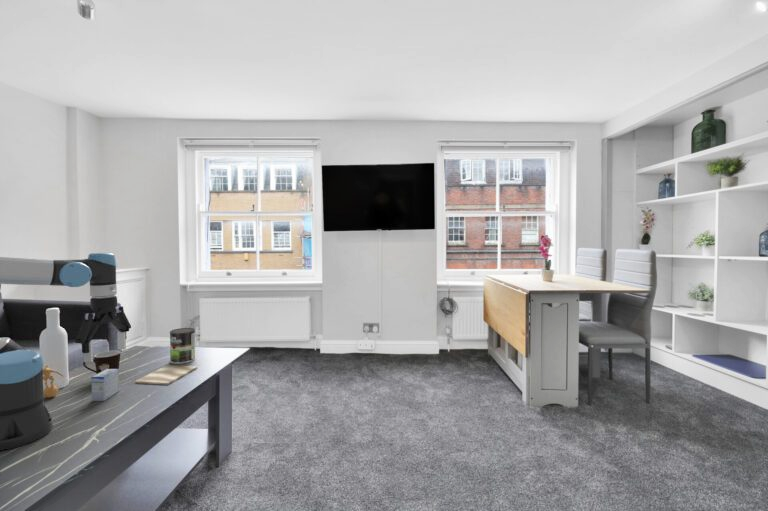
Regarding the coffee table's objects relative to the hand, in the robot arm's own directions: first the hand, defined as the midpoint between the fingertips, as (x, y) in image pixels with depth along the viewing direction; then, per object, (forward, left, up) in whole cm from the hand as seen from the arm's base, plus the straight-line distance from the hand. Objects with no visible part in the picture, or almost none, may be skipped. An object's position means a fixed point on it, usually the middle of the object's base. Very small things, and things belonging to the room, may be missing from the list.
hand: (106, 355), depth 128 cm
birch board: (+21, -8, -15) cm, 27 cm away
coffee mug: (+15, +15, -15) cm, 26 cm away
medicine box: (0, 0, -15) cm, 15 cm away
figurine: (-4, +18, -15) cm, 24 cm away
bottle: (+5, +26, -15) cm, 31 cm away
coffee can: (+39, -2, -15) cm, 42 cm away
